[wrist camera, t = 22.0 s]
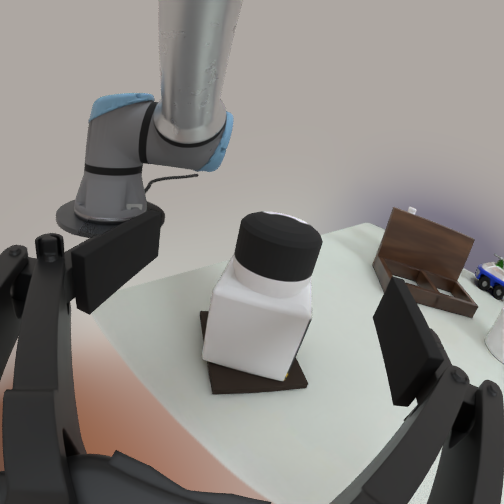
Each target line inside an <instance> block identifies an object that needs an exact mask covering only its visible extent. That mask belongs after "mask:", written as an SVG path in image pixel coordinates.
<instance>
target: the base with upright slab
mask: <svg viewBox="0 0 504 504" xmlns="http://www.w3.org/2000/svg"><path fill="white" fill-rule="evenodd" d="M485 343H486V345H487V347H488V349H489V350H490V352H491V353H492V354H493V355H494V356H495V357H496V358H497V359H498V360H499V361H501V362H502V363H504V307H503V309H502V310H501V312H500V314H499V316H498V318H497V319H496V321H495V323H494V325H493V326H492V328H491V330H490V331H489V333H488V335H487V336H486V338H485Z"/></svg>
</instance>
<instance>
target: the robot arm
mask: <svg viewBox="0 0 504 504" xmlns="http://www.w3.org/2000/svg"><path fill="white" fill-rule="evenodd" d="M242 2H243V0H159V57H160V78H161V95H162V99H161V100H160V101H159V102H154V96H153V95H151V94H145V93H126V94H114V95H108V96H103V97H101V98H99V99H97V100H96V101H95V102H94V104H93V107H92V111H91V116H90V119H89V127H88V137H87V145H86V157H85V169H84V176H83V179H82V181H81V184H80V187H79V190H78V193H77V196H76V200H75V204H74V214H75V216H76V217H77V218H78V219H80V220H82V221H85V222H88V223H92V224H98V225H118V226H117V227H115V228H113V229H111V230H109V231H107V232H105V233H103V234H101V235H99V236H95V237H92V238H89V239H88V240H86V241H84V242H82V243H80V244H79V245H77V246H75V247H73V248H71V249H70V250H68V251H66V252H64V243H63V236H61V235H59V234H55V233H49V234H44V235H41V236H39V237H37V238H36V239H35V245H36V254H37V259H36V258H30V257H28V252H27V248H26V247H25V246H21V245H14V246H11V247H9V248H7V249H6V250H5V251H3V252H2V253H1V255H0V380H1V377H2V374H3V371H4V369H5V366H6V364H7V361H8V359H9V356H10V354H11V352H12V349H13V347H14V345H15V342H16V340H17V338H18V344H17V351H16V359H15V368H14V379H13V389H12V390H6V391H5V392H4V397H3V419H2V421H3V422H2V427H3V428H2V430H3V431H2V432H3V457H4V468H5V471H1V472H0V504H271V502H268V501H262V500H257V499H252V498H248V497H243V496H239V495H234V494H226V493H210V492H199V491H190V490H186V489H185V488H182V487H181V486H180V485H178V484H176V483H175V482H173V481H171V480H170V479H168V478H167V477H166V476H164V475H163V474H161V473H160V472H158V471H157V470H155V469H154V468H153V467H151V466H149V465H146V464H144V463H142V462H140V461H138V460H136V459H134V458H131V457H129V456H127V455H125V454H123V453H121V452H119V451H117V450H116V451H115V452H114V454H113V456H112V457H110V456H106V455H100V454H87V453H86V450H85V447H84V445H83V442H82V438H81V433H80V428H79V422H78V415H77V408H76V401H75V392H74V382H73V371H72V354H71V305H70V301H71V300H72V299H73V298H76V304H77V309H79V310H81V311H83V312H85V313H87V314H91V313H92V312H93V311H94V310H95V309H96V308H98V307H99V306H100V305H101V304H102V303H103V302H104V301H105V300H107V299H108V298H109V297H110V296H111V295H112V294H114V293H115V292H116V291H117V290H118V289H119V288H120V287H121V286H123V285H124V284H125V283H126V282H127V281H129V280H130V279H131V278H132V277H133V276H135V275H136V274H137V273H138V272H139V271H140V270H142V269H143V268H144V267H145V266H146V265H148V264H149V263H150V262H151V261H153V260H154V259H155V258H156V257H157V256H158V249H159V238H160V228H161V218H162V212H159V211H155V210H152V209H150V210H148V211H147V201H146V197H145V193H146V192H147V191H148V190H149V189H150V187H151V184H153V183H155V182H158V181H163V180H170V179H183V178H192V177H198V174H193V175H185V176H184V175H183V176H169V177H162V178H157V179H154V180H151V181H150V182H149V183H148V185H147V187H146V188H145V189H144V187H143V182H142V166H143V163H147V164H156V165H163V166H171V167H178V168H185V169H191V170H195V171H197V172H198V171H207V172H212V171H215V170H216V169H218V167H219V166H220V165H221V162H222V160H223V158H224V156H225V152H226V148H227V146H228V143H229V140H230V136H231V132H232V127H233V115H232V114H231V113H229V112H227V111H226V109H225V106H224V104H223V102H222V100H221V99H220V96H221V91H222V86H223V82H224V77H225V72H226V67H227V62H228V58H229V54H230V50H231V45H232V41H233V37H234V33H235V29H236V25H237V21H238V17H239V13H240V9H241V6H242ZM373 320H374V324H375V327H376V331H377V335H378V339H379V343H380V347H381V351H382V355H383V359H384V363H385V368H386V372H387V376H388V381H389V386H390V391H391V396H392V401H393V405H396V406H406V407H408V406H409V405H410V404H411V403H412V401H413V400H414V399H415V398H416V399H417V403H418V405H417V406H416V407H415V408H414V409H413V410H412V411H411V413H410V414H409V415H408V416H407V417H406V418H405V419H404V421H405V422H404V423H403V424H402V426H401V427H400V428H399V429H398V431H397V432H396V433H395V435H394V436H393V437H392V438H391V440H390V441H389V442H388V443H387V444H386V446H385V447H384V448H383V449H382V450H381V452H380V453H379V454H378V455H377V456H376V457H375V459H374V460H373V461H372V462H371V463H370V464H369V465H368V466H367V467H366V468H365V469H364V471H363V472H362V473H361V474H360V475H359V476H358V477H357V478H356V479H355V480H354V481H353V482H352V483H351V484H350V485H349V486H348V487H347V488H346V489H345V490H344V491H343V492H342V493H341V494H339V495H338V496H337V497H336V498H335V499H334V500H333V501H332V502H331V503H330V504H408V502H409V501H410V499H411V498H412V496H413V495H414V493H415V492H416V490H417V489H418V487H419V486H420V484H421V483H422V481H423V480H424V478H425V476H426V475H427V473H428V471H429V470H430V468H431V466H432V464H433V463H434V461H435V459H436V457H437V455H438V454H439V452H440V450H441V448H442V446H443V448H442V452H441V457H440V461H439V465H438V469H437V473H436V476H435V480H434V483H433V486H432V490H431V493H430V496H429V499H428V502H427V504H500V503H501V495H502V487H503V477H504V406H503V395H502V391H501V390H500V387H499V386H498V385H497V384H496V383H494V382H492V381H490V380H485V381H484V382H483V383H482V384H481V385H480V386H479V388H478V387H476V386H473V385H471V384H469V378H468V376H467V374H466V373H465V372H464V371H463V370H462V369H460V368H458V367H457V366H453V365H452V364H451V362H450V360H449V358H448V356H447V353H446V351H445V350H444V347H443V345H442V344H441V341H440V339H439V337H438V335H437V334H436V333H435V332H434V331H433V330H432V329H430V328H429V326H428V324H427V322H426V320H425V318H424V316H423V314H422V313H421V311H420V309H419V307H418V305H417V303H416V301H415V299H414V298H413V296H412V294H411V292H410V290H409V289H408V287H407V285H406V283H405V282H404V280H403V279H399V278H396V277H393V276H392V277H391V279H390V282H389V284H388V286H387V288H386V291H385V293H384V295H383V297H382V299H381V301H380V303H379V306H378V308H377V310H376V312H375V314H374V316H373ZM18 336H19V337H18Z"/></svg>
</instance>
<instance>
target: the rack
mask: <svg viewBox="0 0 504 504" xmlns="http://www.w3.org/2000/svg"><path fill="white" fill-rule="evenodd" d="M473 243H474V239H473V238H471V237H469V236H467V235H464V234H462V233H460V232H457V231H455V230H452V229H450V228H448V227H445V226H443V225H440V224H438V223H435V222H433V221H430V220H428V219H425V218H422V217H420V216H417V215H414V214H412V213H409V212H406V211H404V210H401V209H398V208H395V207H393V210H392V212H391V215H390V218H389V221H388V224H387V227H386V230H385V233H384V235H383V238H382V241H381V244H380V246H379V249H378V252H377V254H376V257H375V259H374V262H373V264H372V265H373V267H374V270H375V272H376V274H377V276H378V279H379V281H380V283H381V286H382V288H383V291H384V293H385V291H386V288H387V286H388V284H389V282H390V279H391V277H392V274H393V275H396V276H400V277H403V278H406V279H410V280H413V281H416V282H417V284H418V286H415V285H412V284H408V283H406V285H407V287H408V289H409V290H410V292H411V294H412V296H413V298H414V299H415V301H416V303H419V304H423V305H427V306H430V307H434V308H438V309H441V310H445V311H449V312H452V313H456V314H460V315H463V316H467V317H471V318H472V317H473V315H474V314H475V312H476V310H477V308H478V306H477V304H476V303H475V302H474V301H473V299H472V298H471V297H470V296H469V294H468V293H467V292H466V291H465V290H464V288H463V287H462V286H461V285H460V284H459V282H458V281H457V280H458V278H459V276H460V274H461V271H462V269H463V267H464V264H465V262H466V260H467V258H468V255H469V253H470V250H471V248H472V245H473ZM437 288H439V289H442V290H446V291H449V292H451V293H452V294H453V296H454V297H452V296H449V295H445V294H442V293H440V292H439V291H438V290H437Z"/></svg>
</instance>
